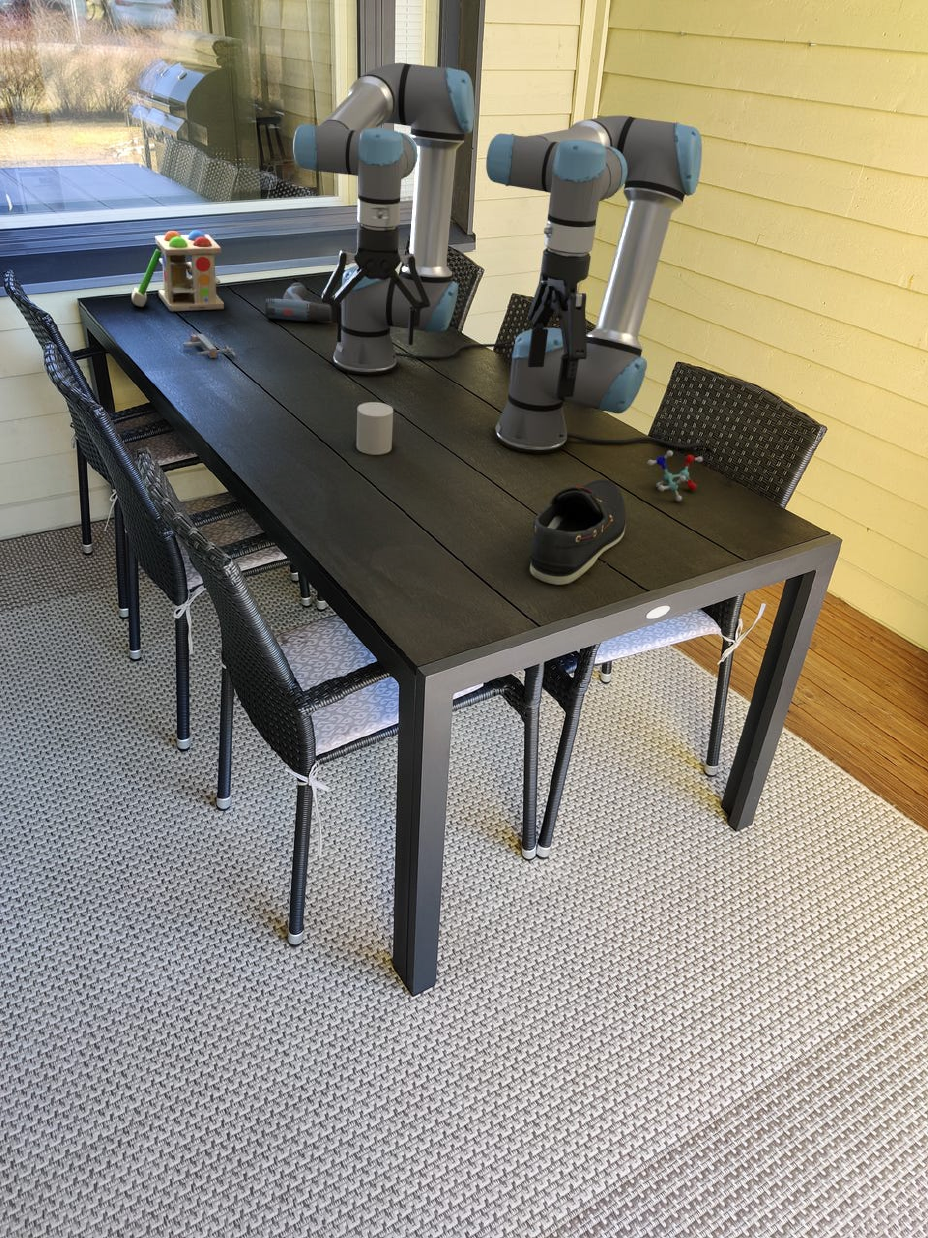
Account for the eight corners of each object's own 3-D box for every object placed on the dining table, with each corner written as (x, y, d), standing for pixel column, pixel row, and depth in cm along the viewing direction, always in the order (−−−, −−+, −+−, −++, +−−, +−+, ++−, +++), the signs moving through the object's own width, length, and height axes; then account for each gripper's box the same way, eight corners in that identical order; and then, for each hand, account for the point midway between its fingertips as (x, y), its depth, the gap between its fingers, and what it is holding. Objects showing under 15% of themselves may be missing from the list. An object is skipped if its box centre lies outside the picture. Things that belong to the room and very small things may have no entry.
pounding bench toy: (137, 313, 255) (129, 242, 244) (126, 297, 265) (119, 228, 255) (225, 308, 264) (221, 239, 254) (211, 293, 274) (207, 225, 264)
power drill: (344, 304, 276) (335, 327, 259) (277, 298, 275) (264, 321, 258) (344, 285, 273) (335, 306, 256) (277, 279, 272) (264, 300, 255)
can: (361, 455, 196) (362, 417, 191) (352, 441, 201) (353, 403, 197) (395, 453, 198) (397, 414, 194) (386, 438, 204) (387, 401, 199)
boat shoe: (648, 521, 183) (657, 470, 178) (567, 591, 159) (574, 534, 154) (587, 503, 189) (593, 452, 184) (499, 567, 165) (504, 512, 160)
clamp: (178, 335, 238) (218, 331, 242) (178, 343, 239) (218, 340, 243) (197, 356, 227) (238, 351, 232) (197, 365, 228) (239, 360, 233)
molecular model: (706, 495, 186) (690, 444, 184) (657, 509, 189) (642, 459, 188) (711, 487, 196) (697, 439, 195) (665, 501, 200) (651, 454, 198)
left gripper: (308, 226, 171) (309, 345, 183) (449, 234, 175) (441, 350, 187) (308, 216, 177) (309, 332, 189) (444, 223, 181) (437, 336, 193)
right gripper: (518, 229, 162) (504, 355, 174) (575, 272, 142) (555, 410, 154) (560, 230, 164) (543, 354, 176) (622, 273, 145) (599, 408, 156)
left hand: (374, 341), depth 188 cm, fingers open, 13 cm apart
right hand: (549, 381), depth 165 cm, fingers open, 13 cm apart
